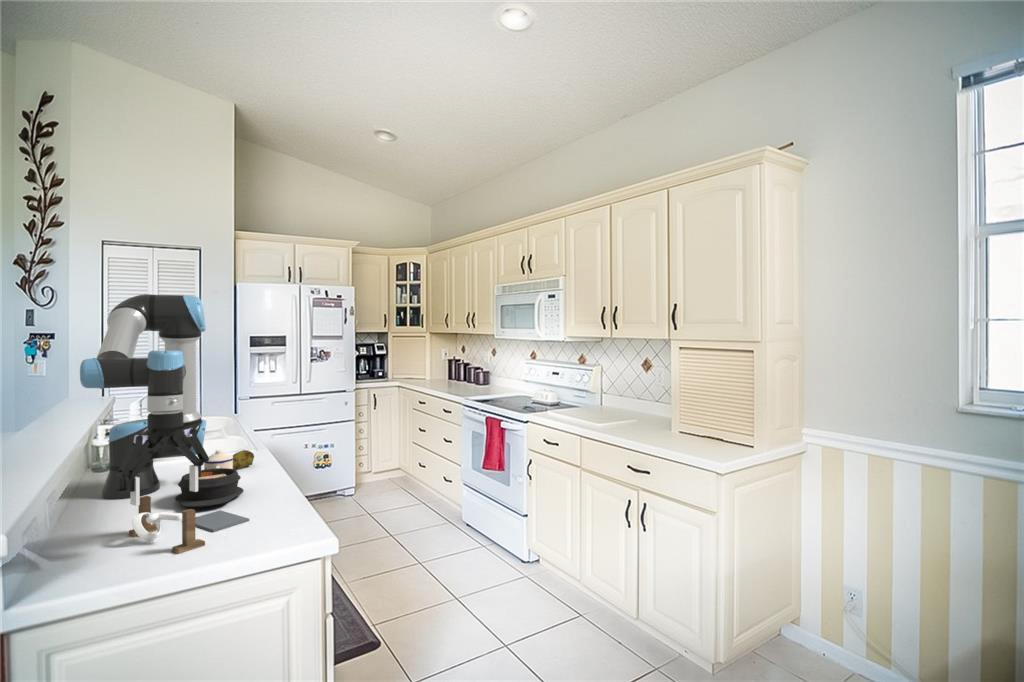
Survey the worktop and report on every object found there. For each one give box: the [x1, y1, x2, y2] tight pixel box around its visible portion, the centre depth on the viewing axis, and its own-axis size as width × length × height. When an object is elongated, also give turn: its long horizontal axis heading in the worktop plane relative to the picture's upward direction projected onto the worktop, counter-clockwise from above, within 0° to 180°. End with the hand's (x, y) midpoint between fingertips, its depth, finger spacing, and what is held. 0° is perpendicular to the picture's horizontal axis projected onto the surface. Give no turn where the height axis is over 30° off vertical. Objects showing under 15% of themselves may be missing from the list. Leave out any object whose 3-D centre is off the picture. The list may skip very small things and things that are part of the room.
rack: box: [128, 495, 206, 555], centre depth 132 cm, size 24×6×9 cm, turn 59°
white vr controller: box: [131, 511, 182, 542], centre depth 131 cm, size 8×12×7 cm, turn 78°
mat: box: [195, 509, 250, 533], centre depth 145 cm, size 14×10×1 cm
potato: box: [232, 449, 255, 471], centre depth 198 cm, size 8×13×8 cm, turn 117°
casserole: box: [174, 468, 245, 508], centre depth 165 cm, size 25×19×8 cm
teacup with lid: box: [203, 449, 234, 470], centre depth 182 cm, size 12×9×12 cm
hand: (165, 497), depth 132 cm, fingers open, 13 cm apart
